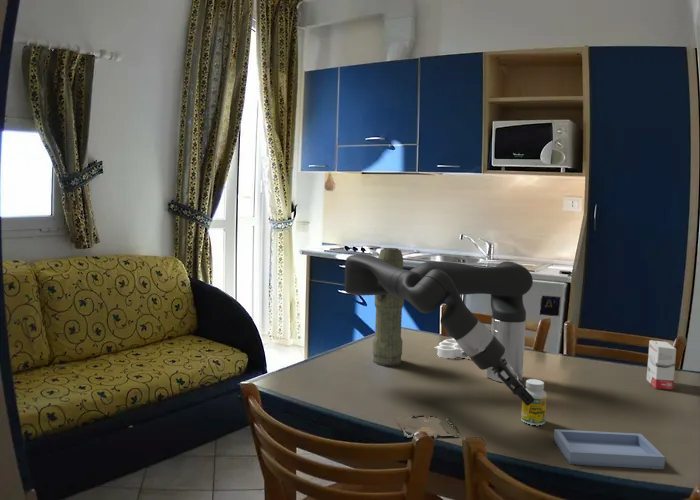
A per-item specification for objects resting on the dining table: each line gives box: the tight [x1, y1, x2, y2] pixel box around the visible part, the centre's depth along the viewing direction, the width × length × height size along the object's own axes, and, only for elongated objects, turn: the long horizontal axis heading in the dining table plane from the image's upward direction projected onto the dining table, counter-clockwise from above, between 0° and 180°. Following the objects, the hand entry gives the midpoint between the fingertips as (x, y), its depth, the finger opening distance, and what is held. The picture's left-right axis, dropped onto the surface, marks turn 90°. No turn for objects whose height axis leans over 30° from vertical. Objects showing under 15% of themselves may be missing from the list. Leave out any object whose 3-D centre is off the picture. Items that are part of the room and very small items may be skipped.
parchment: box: [401, 415, 460, 438], centre depth 132 cm, size 12×13×1 cm
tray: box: [553, 429, 666, 470], centre depth 120 cm, size 18×11×2 cm, turn 86°
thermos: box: [372, 247, 405, 367], centre depth 179 cm, size 9×12×35 cm
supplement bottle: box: [520, 378, 548, 427], centre depth 136 cm, size 5×5×10 cm
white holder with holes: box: [433, 337, 472, 361], centre depth 193 cm, size 3×18×15 cm
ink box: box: [646, 339, 677, 391], centre depth 165 cm, size 9×5×12 cm, turn 168°
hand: (526, 395), depth 135 cm, fingers open, 8 cm apart
